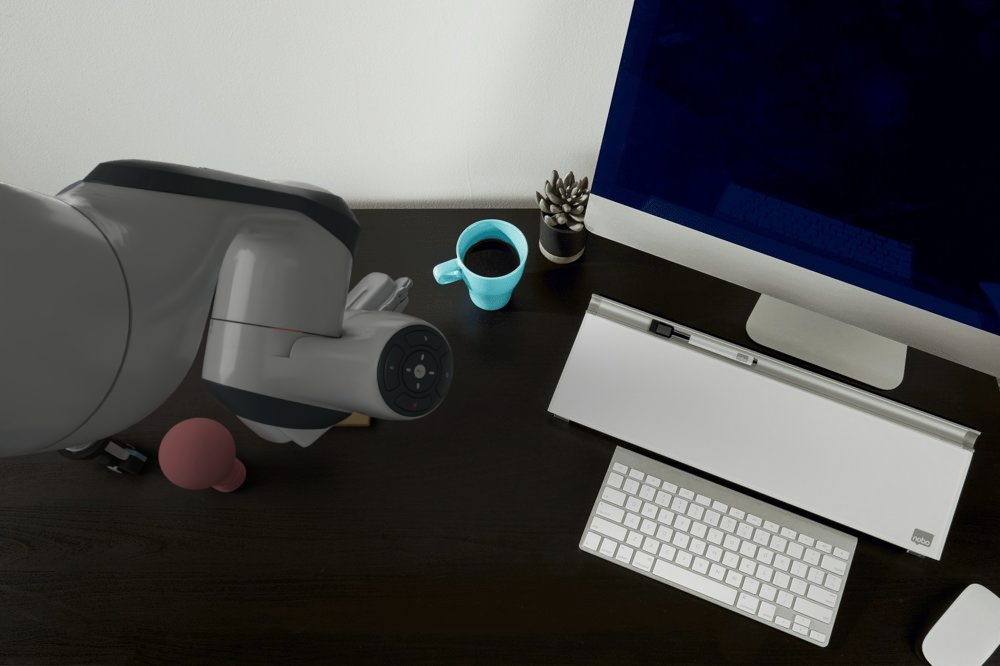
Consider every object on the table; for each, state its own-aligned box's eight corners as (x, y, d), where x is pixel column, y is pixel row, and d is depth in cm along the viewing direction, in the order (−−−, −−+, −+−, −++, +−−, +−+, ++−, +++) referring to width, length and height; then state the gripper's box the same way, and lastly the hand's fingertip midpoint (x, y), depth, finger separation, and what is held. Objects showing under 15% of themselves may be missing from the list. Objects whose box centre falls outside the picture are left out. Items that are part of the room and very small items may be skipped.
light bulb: (190, 464, 81) (137, 427, 71) (250, 435, 82) (207, 395, 72) (208, 521, 78) (155, 491, 68) (270, 490, 79) (228, 456, 69)
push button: (83, 474, 81) (27, 445, 72) (107, 430, 84) (55, 397, 75) (135, 488, 80) (84, 461, 71) (158, 444, 83) (111, 412, 74)
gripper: (397, 254, 69) (347, 260, 81) (241, 417, 62) (211, 398, 74) (439, 301, 72) (384, 301, 84) (294, 462, 65) (257, 437, 77)
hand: (302, 347), depth 79 cm, fingers open, 8 cm apart
